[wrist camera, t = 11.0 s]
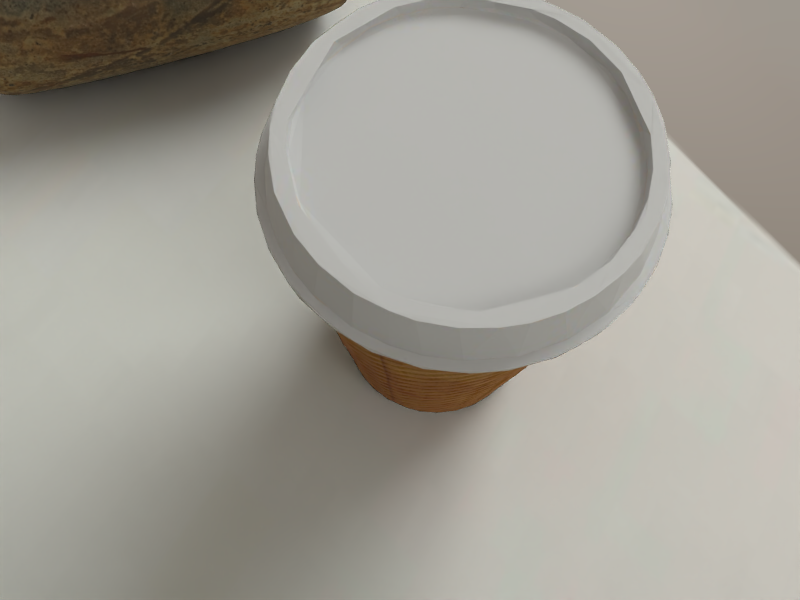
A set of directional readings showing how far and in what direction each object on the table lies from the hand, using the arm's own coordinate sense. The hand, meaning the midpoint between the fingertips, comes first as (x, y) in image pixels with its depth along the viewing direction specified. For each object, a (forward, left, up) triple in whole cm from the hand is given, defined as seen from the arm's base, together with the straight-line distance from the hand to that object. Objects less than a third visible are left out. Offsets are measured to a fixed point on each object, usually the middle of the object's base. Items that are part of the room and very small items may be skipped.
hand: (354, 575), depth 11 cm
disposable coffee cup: (-9, +2, -13) cm, 16 cm away
